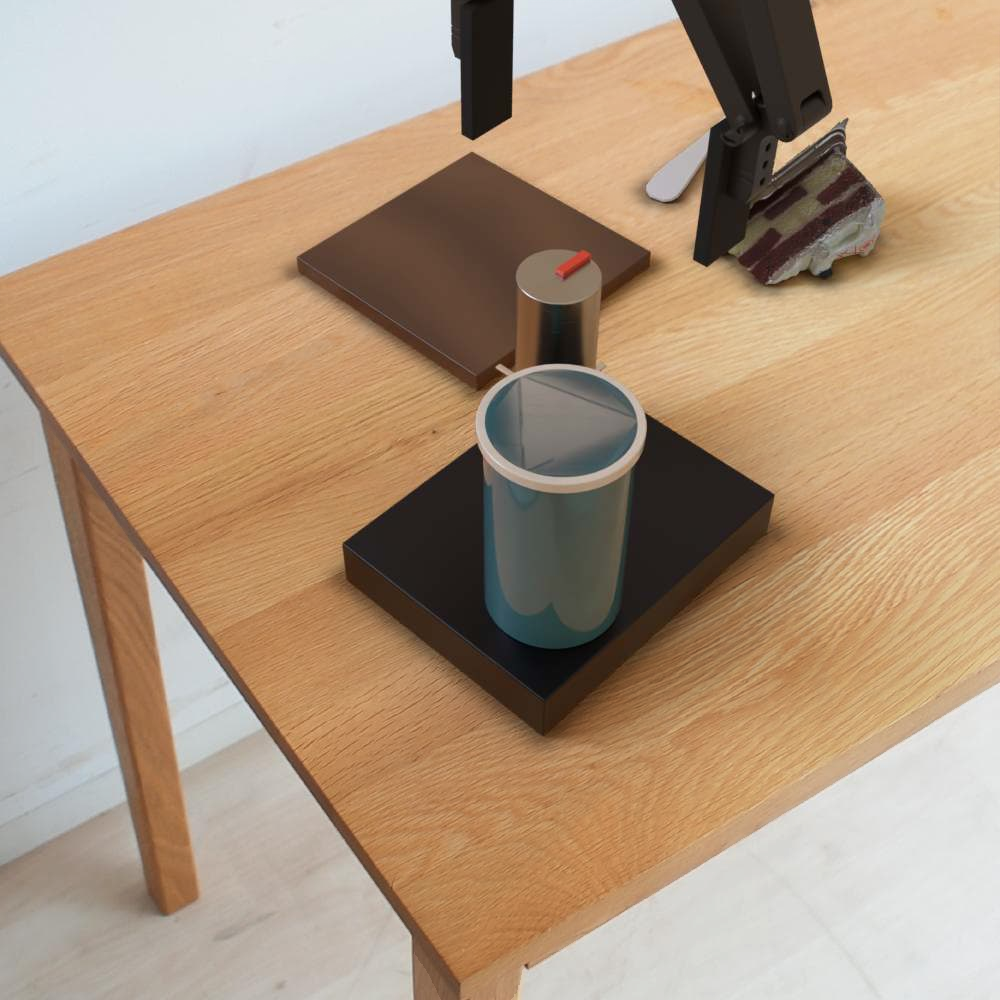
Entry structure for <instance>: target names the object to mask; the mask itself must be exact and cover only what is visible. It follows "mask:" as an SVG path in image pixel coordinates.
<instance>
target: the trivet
mask: <svg viewBox="0 0 1000 1000" xmlns="http://www.w3.org/2000/svg"><path fill="white" fill-rule="evenodd" d="M554 249H562V250H570V251H574V252H578V253H579V252H581V251H582V250H584V251H586V252H588V253H589V254H591V260H593V261H594V262H595V263H596V264H597V266H598V267H599V269H600V271H601V274H602V288H601V302H602V301H603V300H605V299H606V298H608V297H609V296H610V295H612V294H614V293H615V292H616V291H617V290H619V289H621V288H622V287H623V286H625V284H627V283H629V282H630V281H632V280H633V279H634V278H635V277H637V276H638V275H640V274H641V273H642V272H644V271H645V270H647V269H648V268H650V266H651V256H652V252H651V250H648V249H646V248H645V247H643V246H641V245H640V244H638V243H636V242H634V241H632V240H631V239H629V238H628V237H626V236H624V235H622V234H620V233H618V232H616V231H615V230H613V229H611V228H610V227H607V226H606V225H604V224H602V223H601V222H599V221H597V220H596V219H593V218H592V217H590V216H588V215H586V214H584V213H583V212H581V211H579V210H578V209H575V208H574V207H572V206H571V205H568V204H567V203H565V202H563V201H562V200H560V199H558V198H556V197H554V196H552V195H550V194H549V193H547V192H546V191H543V190H541V189H540V188H538V187H536V186H535V185H533V184H531V183H529V182H528V181H525V179H522V178H521V177H518V176H516V175H515V174H513V173H511V172H510V171H508V170H506V169H504V168H502V167H501V166H499V165H497V164H496V163H493V162H492V161H490V160H488V159H487V158H485V157H483V156H481V155H480V154H478V153H476V152H474V151H469V152H468V153H467V154H465V155H463V156H461V157H460V158H458V159H456V160H455V161H453V162H452V163H450V164H449V165H446V166H445V167H443V168H442V169H440V170H438V171H436V172H435V173H434V174H432V175H430V176H428V177H427V178H425V179H423V180H422V181H420V182H418V183H417V184H415V185H413V186H412V187H410V188H408V189H407V190H405V191H404V192H402V193H400V194H399V195H397V196H396V197H393V198H392V199H390V200H388V201H387V202H385V203H383V204H382V205H380V206H378V207H377V208H375V209H374V210H372V211H370V212H368V213H366V214H365V215H364V216H362V217H360V218H359V219H357V220H355V221H353V222H352V223H350V224H349V225H347V226H346V227H344V228H342V229H340V230H339V231H337V232H336V233H333V234H332V235H330V236H328V237H327V238H326V239H324V240H322V241H321V242H319V243H317V244H316V245H313V246H312V247H310V248H309V249H307V250H306V251H304V252H301V254H298V255H297V256H296V262H297V263H296V265H297V271H298V273H300V274H301V275H303V276H304V277H306V278H307V279H309V280H310V281H311V282H313V283H315V284H316V285H318V286H319V287H321V288H322V289H324V290H325V291H326V292H328V293H330V294H331V295H333V296H335V297H336V298H337V299H339V300H340V301H342V302H343V303H345V304H346V305H348V306H349V307H351V308H352V309H354V310H355V311H357V312H359V314H361V315H363V316H364V317H366V318H368V319H369V320H370V321H372V322H374V323H375V324H376V325H378V326H379V327H381V328H383V329H384V330H386V331H387V332H388V333H390V334H391V335H393V336H394V337H396V338H398V339H399V340H400V341H402V342H403V343H405V344H406V345H408V346H409V347H411V348H412V349H414V350H415V351H417V352H419V354H421V355H423V356H424V357H425V358H427V359H429V360H430V361H432V362H433V363H435V364H436V365H437V366H439V367H441V368H443V369H444V370H445V371H447V372H448V373H450V374H451V375H453V376H454V377H455V378H458V379H459V380H461V381H462V382H463V383H465V384H466V385H468V386H469V387H471V388H472V389H474V390H475V391H479V390H480V389H481V388H483V387H484V386H485V385H486V384H488V383H489V382H491V381H492V380H494V379H495V378H497V377H498V376H499V375H500V374H503V373H502V372H500V371H499V370H497V369H496V366H497V365H499V364H501V365H503V366H504V367H506V368H507V369H509V368H510V367H511V366H513V365H515V300H516V272H517V269H518V267H519V266H520V264H521V263H522V262H523V261H524V260H525V259H526V258H528V257H529V256H531V255H533V254H535V253H538V252H541V251H546V250H554Z"/></svg>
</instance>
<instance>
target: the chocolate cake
mask: <svg viewBox="0 0 1000 1000" xmlns="http://www.w3.org/2000/svg"><path fill="white" fill-rule="evenodd" d="M849 120H850V119H849V117H846V118H844V119H843V120H842V121H838V122H837V123H836V124H835V125H834V126H833V127H832V128H831V129H830V130H829V131H827V132H826V133H825V134H824V135H823V136H820V137H819V138H818V139H817V140H816V141H814V142H813V143H812V144H808V146H806V147H805V148H804V149H802V150H801V151H800V152H798V153H797V154H796V155H795V156H794V157H793V158H791V159H790V160H788V161H787V162H786V163H785V164H784V165H783V166H782V167H780V168H779V169H778V170H777V171H774V172H773V174H772V180H771V182H770V183H769V185H768V186H767V188H766V189H765V190H764V191H762V192H761V193H760V194H758V195H757V196H756V197H754V198H753V199H751V204H750V210H749V216H748V222H747V228H746V234H745V239H743V240H742V241H741V242H740V243H738V244H737V245H736V246H734V247H733V248H732V249H730V250H729V251H728V254H729V255H732V256H734V257H735V258H736V259H737V262H738V263H739V264H740V265H741V266H742V267H743V268H745V269H746V271H748V272H749V273H750V274H752V276H753V277H754V278H755V280H757V282H759V283H760V284H761V285H763V286H767V285H775V284H777V283H780V282H781V281H785V280H788V279H790V278H791V277H796V276H797V275H799V273H800V272H801V271H806V270H808V271H809V272H810V273H811V274H812V275H813V276H818V277H819V278H821V279H823V280H828V279H830V278H831V277H832V276H833V275H834V271H833V269H832V264H833V262H834V261H835V260H840V259H841V258H845V257H850V256H853V255H854V256H855V255H859V256H860V257H867V256H868V255H869V254H870V252H871V251H873V249H874V248H875V246H876V241H877V239H878V236H879V234H880V233H881V226H882V223H883V222H884V219H885V216H886V208H887V207H886V206H887V205H886V201H885V199H884V197H883V195H881V194H880V193H879V192H878V190H877V189H876V188H875V186H874V185H873V183H871V181H870V180H868V179H867V177H866V176H865V175H864V174H863V173H862V172H861V171H860V169H858V168H857V166H855V164H854V163H853V162H852V161H851V160H850V159H848V158H847V149H848V146H847V143H846V140H847V134H846V129H847V128H846V127H847V125H848V122H849Z"/></svg>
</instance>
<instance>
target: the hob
mask: <svg viewBox="0 0 1000 1000" xmlns="http://www.w3.org/2000/svg"><path fill="white" fill-rule="evenodd" d="M607 366H608V365H607V364H606V363H604V361H601V362H600V363H599V364H598V365H597V364H596V370H598V371H600V372H603V370H605V369H606V368H607ZM496 369H497V370H499V371H500V372H502V373H501V374H503V375H505V377H507V376H509V375H511V374H513V373H515V371H513V370H511V369H509V368H506V367H504V366H503V365H501V364H499V365H497V366H496ZM644 413H645V417H646V421H647V432H646V440H645V445H644V448H643V451H642V453H641V455H640V457H639V459H638V460H637V462H636V470H635V480H634V489H633V499H632V508H631V518H630V527H629V537H628V547H627V556H626V566H625V575H624V585H623V594H622V602H621V607H620V610H619V613H618V615H617V617H616V619H615V620H614V622H613V623H612V624H611V626H610V627H609V628H608V629H607V630H606V631H605V632H603V633H602V634H601V635H600V636H598V637H597V638H595V639H593V640H591V641H589V642H587V643H585V644H582V645H579V646H575V647H570V648H564V649H546V648H539V647H535V646H531V645H528V644H525V643H522V642H520V641H518V640H516V639H514V638H512V637H511V636H509V635H508V634H506V633H505V632H504V631H503V630H502V629H501V628H500V627H499V626H498V625H497V624H496V623H495V622H494V620H493V619H492V617H491V616H490V614H489V612H488V610H487V607H486V603H485V598H484V533H483V455H482V453H481V451H480V449H479V446H478V443H477V442H476V443H475V444H474V445H472V446H471V447H469V448H467V450H465V451H464V452H462V453H461V454H460V455H459V456H457V457H456V458H455V459H453V460H452V461H451V462H449V463H448V464H447V465H445V466H444V467H443V468H441V469H439V471H437V472H436V473H435V474H433V475H431V476H430V477H429V478H427V480H425V481H424V482H422V483H421V484H419V486H417V487H416V488H414V489H413V490H412V491H410V492H409V493H408V494H406V495H405V496H403V497H402V498H401V499H399V500H398V501H397V502H396V503H394V504H393V505H392V506H390V507H389V508H387V509H386V510H385V511H383V512H382V513H380V514H379V515H378V516H377V517H375V518H374V519H373V520H371V521H369V522H368V524H365V526H363V527H361V528H360V529H359V530H358V531H357V532H355V533H354V534H353V535H351V536H350V537H349V538H347V539H346V540H345V541H343V542H342V544H341V546H342V556H343V561H344V562H343V563H344V571H345V580H346V581H347V582H348V583H350V584H351V585H352V586H353V587H354V588H355V589H357V590H358V591H360V592H361V593H362V594H364V595H365V596H366V597H367V598H368V599H370V600H371V601H372V602H374V603H375V604H376V605H377V606H379V607H380V608H381V609H382V610H384V611H385V612H386V613H387V614H388V615H390V616H391V617H392V618H394V620H396V621H398V622H399V623H400V624H401V625H403V626H404V627H405V628H406V629H407V630H409V631H410V632H412V633H413V634H414V635H415V636H416V637H418V639H420V640H421V641H422V642H424V643H425V644H426V645H428V646H429V647H430V648H431V649H432V650H434V652H436V653H438V654H439V655H440V656H442V657H443V658H444V659H445V660H446V661H447V662H449V663H450V664H452V666H454V667H455V668H456V669H458V670H459V671H460V672H462V673H463V674H464V675H465V676H466V677H467V678H469V679H470V680H471V681H472V682H474V683H475V684H476V685H477V686H479V687H480V688H482V689H483V690H484V691H485V692H487V694H489V695H490V696H492V697H493V698H494V699H495V700H497V701H498V702H499V703H500V704H502V705H503V706H504V707H505V708H507V709H508V710H509V711H510V712H511V713H513V714H514V715H515V716H517V717H518V718H519V719H521V720H522V721H523V722H524V723H525V724H527V725H528V726H529V727H531V728H532V729H533V730H534V731H535V732H537V733H538V734H539V735H541V736H542V737H544V736H546V734H547V733H548V732H550V731H551V730H552V729H553V728H554V727H555V726H556V725H557V724H559V723H560V722H561V721H562V720H563V719H564V718H565V717H566V716H567V715H568V714H570V712H571V711H573V710H574V709H575V708H576V707H577V706H578V705H579V704H580V703H581V702H583V701H584V699H586V698H587V697H588V696H589V695H590V694H591V693H593V691H595V690H596V689H597V688H598V687H599V686H600V685H602V683H603V682H604V681H605V680H607V679H608V678H609V677H610V676H611V675H612V674H613V673H615V671H617V670H618V669H619V668H620V667H621V666H622V665H623V664H624V663H625V662H626V661H627V660H628V659H630V658H631V657H632V656H633V655H634V654H635V653H636V652H637V651H638V650H639V649H640V648H641V647H643V646H644V645H645V644H646V643H647V642H648V641H649V640H650V639H651V638H652V637H654V636H655V635H656V634H657V633H658V632H659V631H660V630H661V629H662V628H664V626H665V625H667V624H668V623H669V622H670V621H671V620H673V618H674V617H675V616H676V615H678V614H679V613H680V612H681V611H682V610H683V609H684V608H686V607H687V605H688V604H690V602H691V601H693V600H694V599H695V598H696V597H697V596H699V594H701V592H703V591H704V590H705V589H706V588H707V587H708V586H709V585H710V584H711V583H713V582H714V580H716V579H717V578H718V577H719V576H721V574H723V572H724V571H726V569H728V568H729V567H730V566H731V565H732V564H734V563H735V562H736V561H737V559H739V558H740V557H741V556H742V555H743V554H744V553H745V552H746V551H748V549H750V548H751V547H752V546H753V545H754V544H755V543H756V542H757V541H759V540H760V538H762V537H763V536H764V535H765V534H766V533H767V532H768V530H769V525H770V520H771V516H772V512H773V507H774V501H775V498H776V494H775V493H773V492H772V491H770V490H769V489H767V488H765V487H764V486H762V485H761V484H759V483H758V482H756V481H754V480H753V479H752V478H750V477H748V476H747V475H745V474H743V473H741V472H740V471H739V470H737V469H736V468H735V467H732V466H730V465H729V464H728V463H726V462H724V461H723V460H721V459H719V458H718V457H716V456H715V455H713V454H712V453H710V452H708V451H707V450H705V449H704V448H702V447H700V446H699V445H697V444H695V443H694V442H693V441H691V440H689V439H688V438H686V437H684V436H683V435H681V434H680V433H678V432H677V431H675V430H673V429H672V428H670V427H669V426H667V425H665V423H662V422H661V421H659V420H658V419H656V418H655V417H653V416H651V415H650V414H648V413H647V412H646V411H644Z"/></svg>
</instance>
